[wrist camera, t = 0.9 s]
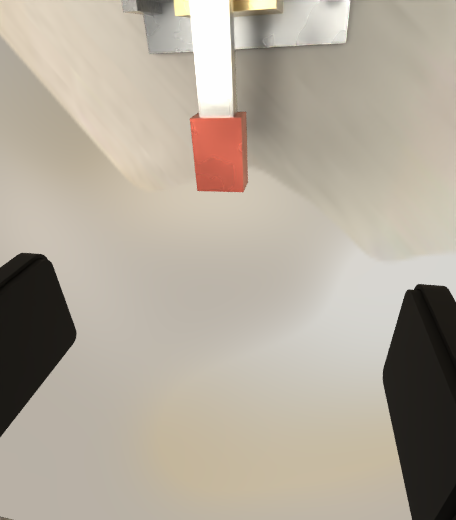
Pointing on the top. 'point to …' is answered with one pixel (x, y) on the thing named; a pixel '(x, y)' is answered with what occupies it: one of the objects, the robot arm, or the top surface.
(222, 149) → the valve lever
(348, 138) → the top surface
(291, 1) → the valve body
